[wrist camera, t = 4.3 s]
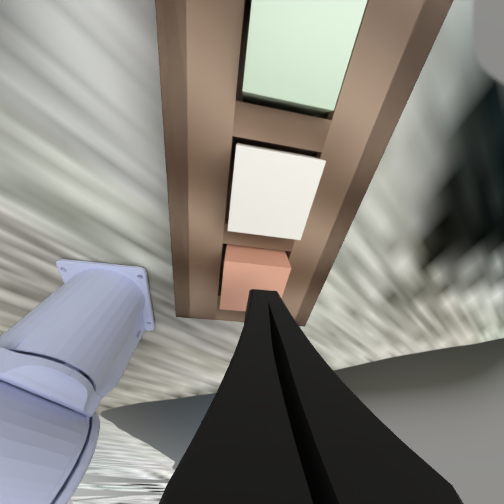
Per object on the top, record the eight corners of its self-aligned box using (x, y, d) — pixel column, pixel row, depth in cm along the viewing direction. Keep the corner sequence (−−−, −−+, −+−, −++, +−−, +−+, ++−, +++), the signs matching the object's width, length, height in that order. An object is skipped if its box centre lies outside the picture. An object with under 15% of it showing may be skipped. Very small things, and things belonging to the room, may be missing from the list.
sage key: (311, 116, 12) (333, 110, 9) (242, 102, 12) (242, 91, 9) (338, 14, 10) (378, -39, 7) (254, -9, 9) (259, -76, 6)
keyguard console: (294, 294, 22) (304, 326, 18) (187, 284, 21) (175, 316, 17) (419, -46, 10) (523, -153, 6) (181, -125, 9) (134, -320, 5)
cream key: (288, 218, 15) (300, 240, 12) (230, 210, 14) (227, 230, 11) (306, 154, 12) (326, 160, 9) (238, 142, 12) (236, 144, 9)
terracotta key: (270, 284, 18) (276, 313, 15) (223, 279, 17) (219, 309, 14) (282, 242, 16) (291, 268, 13) (228, 236, 15) (224, 260, 12)
